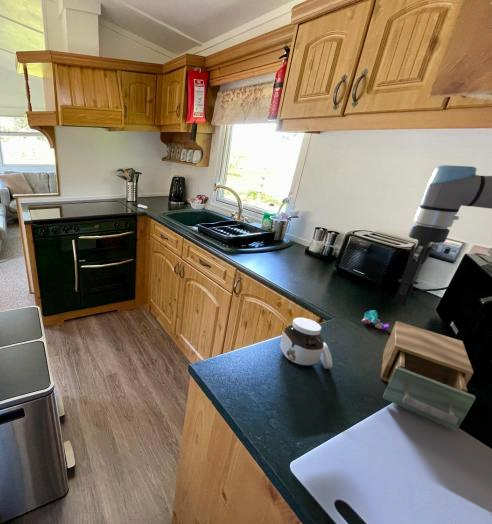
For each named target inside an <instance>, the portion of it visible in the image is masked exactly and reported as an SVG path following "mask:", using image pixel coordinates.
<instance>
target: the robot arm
mask: <svg viewBox="0 0 492 524" xmlns="http://www.w3.org/2000/svg"><path fill="white" fill-rule="evenodd" d="M461 207H475V208H481V209H482V208H483V209H491V210H492V175H479V174H477V167H476V166H466V165H439V166H437V167H436V168H435V169H434V170H433V172H432V175H431V177H430V179H429V181H428V182H427V186H426V189H425V191H424V194H423V196H422V199H421V202H420V205H419V207H418V209H417V210H416V214H415V216H414V219H413V222H414V223H413V224H412V225H411V227H410V229H409V233H408V237H409V238H410V239H413V240H416V241H417V242H416V243H414V244H412V246H411V248H410V253H409V256H408V258H407V260H408V261H407V263H406V265H405V268H404V272H403V273H402V277H401V279H398V280H397V283H399V286H398V288H397V292H396V294H395V296H394V298H393V301H392V302H393V303H394V304H398V305H401V306H406V304H407V303H408V300H409V298H410V296H411V292H412V290H413V288H414V286H415V285H418V284H419V282H418V281H417V280H418V278H419V275H420V272H421V270H422V268H423V266H424V263H425V262H427V260H428V258H429V256H430V254H431V253H432V251H433V249H434V247H433V246H431V245H432V243H434V244H443V243H445V242H446V241H447V238H448V236H449V234H450V231H451V230H450V229H449V228H451V227H453V224H454V221H458V220H459V219H460V216H458V215H457V214H458V213H459V211H460V209H461Z"/></svg>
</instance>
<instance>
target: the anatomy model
mask: <svg viewBox="0 0 492 524" xmlns="http://www.w3.org/2000/svg"><path fill="white" fill-rule="evenodd" d="M377 312H378V311H377V310H375V309H374V310H372V309H370V310H369V311H366V312H364V316H363V319H361V322H362V323H364V324H367V325H370V323H373V324H374V327H375V328H376V329H379V330H381V329H382V330H386V329H388V328H389V327H390V326H389V323H385V324H384V323H382V319H379V316H378V313H377Z"/></svg>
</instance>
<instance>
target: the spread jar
mask: <svg viewBox="0 0 492 524" xmlns="http://www.w3.org/2000/svg"><path fill="white" fill-rule="evenodd" d="M321 331H322V326H321V324H319V323H318V322H316V321H315V320H313V319H310V318H307V317H295V318H293V321H292V324H290V325H287V326H286V327H285V328H284V329H283V331H282V335H281V337H280V342H279V343H280V344H279V347H280V351H281V354H282V356H283V358H284V359H285V360H286V361H287V362H288V363H290V364H292V365H294V366H297V367H300V368H307V367H312V366H314V365H315V366H316V365H317V364H318V363H319V361H320V363H321V365H322V366H323V368H324V369H325V370H326V369H333V366H334V365H333V358H332V354H331V350H330V348H329V346H328V345H327V343H326V342H324V339H323V337H322V335H321Z"/></svg>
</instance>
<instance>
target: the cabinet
mask: <svg viewBox="0 0 492 524" xmlns="http://www.w3.org/2000/svg"><path fill="white" fill-rule="evenodd" d="M388 337H389V338H388V340H387V342H386V345H385V346H384V349H383V352H382V362H381V370H380V380H382V381H383V382H386V383H389V370H390V368H391V366H392V363H393V361H394V359H395V357H396V354H397V352H398V350H401V351H403V352H406V353H409V354H412V355H415V356H418V357H421V358H423V359H426V360H429V361H432V362H435V363H438V364H441V365H443V366H446V367H449V368H452V369H455V370H458V371H461V372H462V374H463V377H464V381H465V384H466V386H467V385H468V383H469V381H470V379H471V378H472V376H473V374H474V369H473V366H472V364H471V361H470V359H469V356H468V353H467V350H466V347H465V344H464V341H463V340H460V339H456V338H453V337H450V336H447V335H443V334H440V333H437V332H434V331H430V330H427V329H424V328H422V327H421V328H420V327H417V326H414V325H410V324H407V323H405V322H401V321H399V320H397V321H395V323H394V325H393V327H392V330H391V333H390V334H389V336H388Z"/></svg>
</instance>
